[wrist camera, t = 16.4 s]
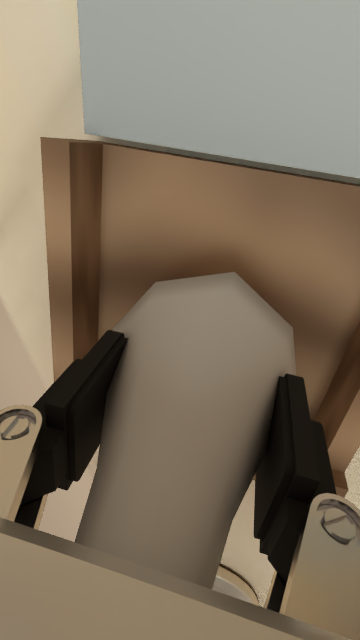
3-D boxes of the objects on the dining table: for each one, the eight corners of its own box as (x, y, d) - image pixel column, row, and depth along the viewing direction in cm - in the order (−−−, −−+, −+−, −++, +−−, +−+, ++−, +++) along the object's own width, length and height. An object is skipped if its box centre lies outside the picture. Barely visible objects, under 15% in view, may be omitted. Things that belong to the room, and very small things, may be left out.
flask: (87, 315, 14) (-222, 602, 5) (248, 233, 11) (175, 583, 2) (174, 439, 16) (63, 791, 7) (329, 399, 13) (459, 914, 4)
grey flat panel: (444, 192, 13) (596, -79, 9) (84, 133, 15) (71, -109, 11) (427, 182, 14) (552, -55, 10) (101, 129, 16) (95, -86, 12)
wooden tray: (321, 419, 22) (339, 504, 16) (93, 360, 24) (45, 418, 19) (427, 195, 15) (514, 219, 10) (97, 141, 17) (24, 135, 12)
